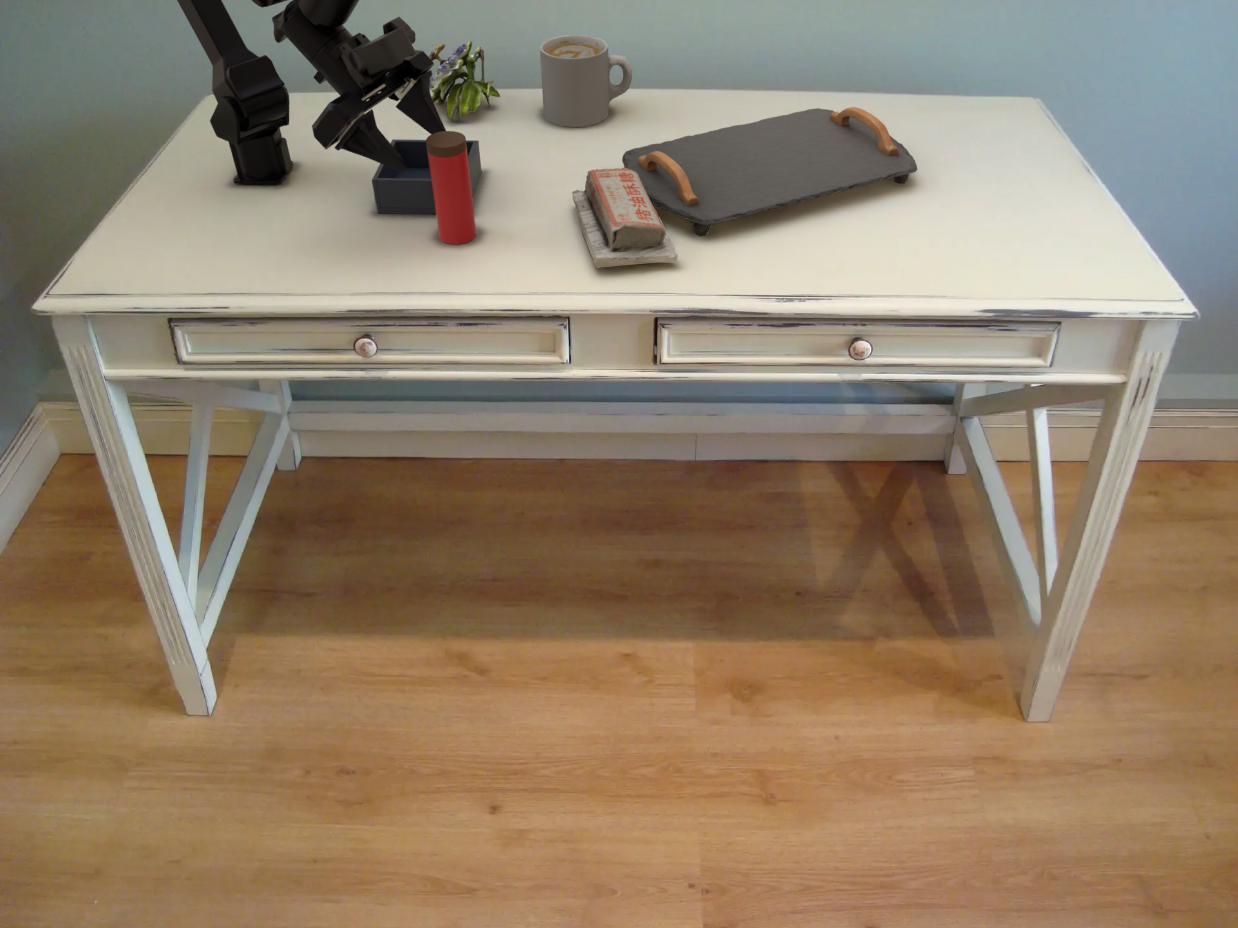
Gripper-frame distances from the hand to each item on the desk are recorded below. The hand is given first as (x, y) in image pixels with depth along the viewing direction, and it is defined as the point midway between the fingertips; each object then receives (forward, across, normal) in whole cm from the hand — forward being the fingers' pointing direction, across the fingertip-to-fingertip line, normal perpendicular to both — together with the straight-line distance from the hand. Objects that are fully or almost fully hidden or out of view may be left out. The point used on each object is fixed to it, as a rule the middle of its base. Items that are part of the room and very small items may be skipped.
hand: (426, 154), depth 121 cm
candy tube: (+9, 0, +5) cm, 11 cm away
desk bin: (+3, +9, +12) cm, 15 cm away
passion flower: (-4, +36, +18) cm, 40 cm away
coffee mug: (+9, +40, +6) cm, 42 cm away
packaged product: (+22, +8, -8) cm, 25 cm away
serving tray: (+32, +30, -16) cm, 46 cm away
